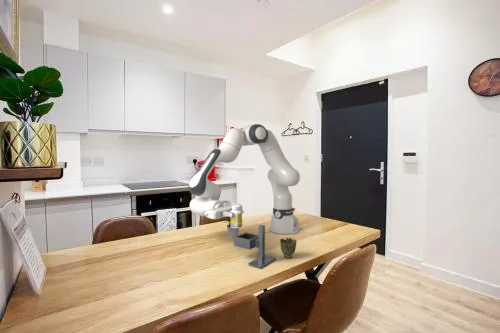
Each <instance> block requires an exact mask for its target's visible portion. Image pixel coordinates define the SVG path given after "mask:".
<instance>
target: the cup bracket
mask: <svg viewBox="0 0 500 333" xmlns="http://www.w3.org/2000/svg"><path fill="white" fill-rule="evenodd" d="M265 243H266V225H264V224H260V225H258V234H255V233H254V234H253V233H250V232H244V233H243V232H242V233H241V234H238V236H235V237H234V238H233V246H234V247H238V248H240V249H241V248H242V249H244V250H245V249H246V250H248V251H250V250H252V249H254V248H255V249H256V248H257V252H258V254H257V258H255V259H254V260H251V261H249V262H248V266H249V267H253V268H256V269H259V270H262V269H263V268H265V267H266V266H268V265H269V264H271V263H273V262H274V261H276V259H277V258H276V257H274V256H271V255H267V254H265V253H266V251H265V250H266V244H265Z"/></svg>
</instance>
